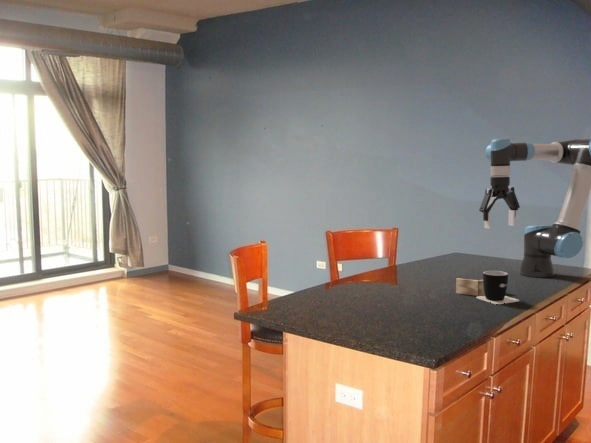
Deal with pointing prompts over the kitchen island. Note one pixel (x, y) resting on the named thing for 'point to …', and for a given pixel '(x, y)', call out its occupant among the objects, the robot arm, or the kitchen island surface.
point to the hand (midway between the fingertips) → (499, 227)
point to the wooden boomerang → (469, 287)
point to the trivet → (505, 300)
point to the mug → (495, 285)
